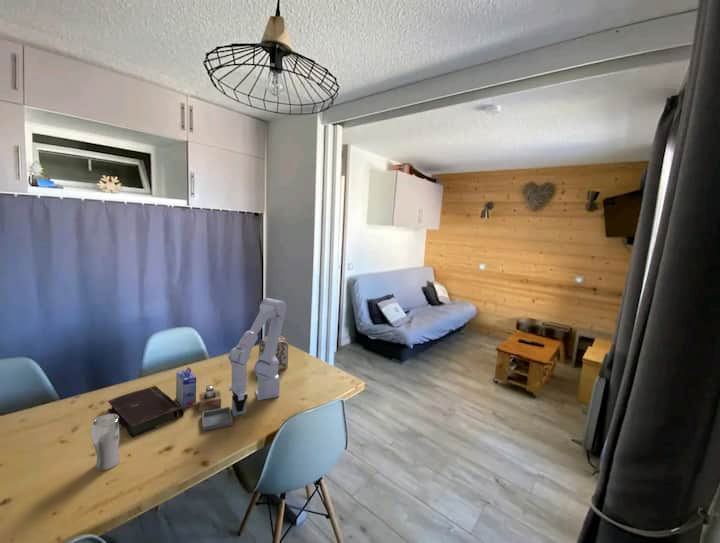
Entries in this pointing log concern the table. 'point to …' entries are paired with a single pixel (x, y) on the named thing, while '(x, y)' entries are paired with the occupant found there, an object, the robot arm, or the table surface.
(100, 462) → the beer glass
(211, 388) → the cylinder
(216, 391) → the bore block
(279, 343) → the decorative jar
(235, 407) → the block
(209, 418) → the tray
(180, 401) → the ink cartridge box
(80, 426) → the table surface
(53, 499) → the table surface
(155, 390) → the diary
